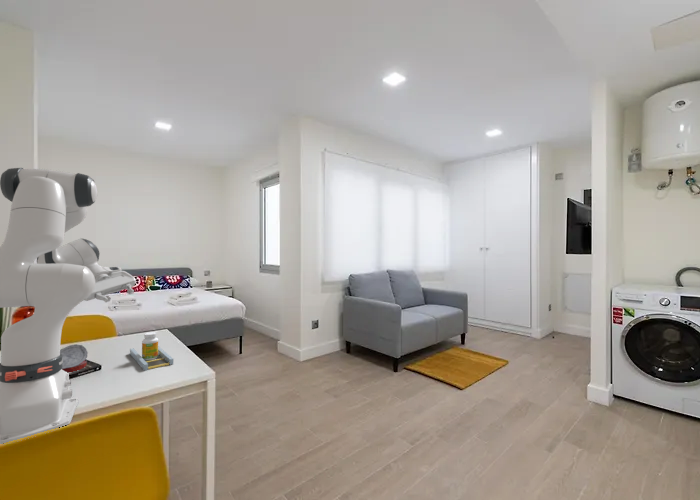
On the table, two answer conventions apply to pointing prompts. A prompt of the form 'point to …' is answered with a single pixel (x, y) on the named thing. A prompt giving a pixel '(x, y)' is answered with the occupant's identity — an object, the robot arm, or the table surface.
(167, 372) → the table surface
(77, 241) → the robot arm
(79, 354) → the canned food
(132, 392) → the table surface
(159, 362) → the channel
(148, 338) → the supplement bottle
